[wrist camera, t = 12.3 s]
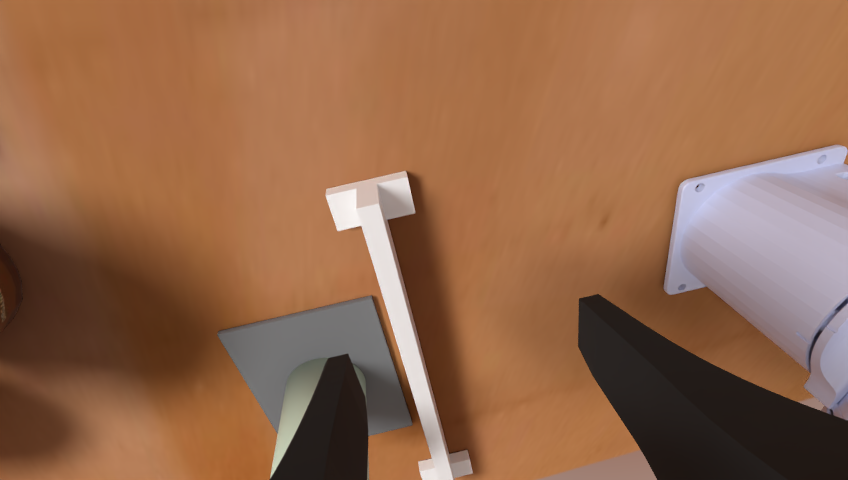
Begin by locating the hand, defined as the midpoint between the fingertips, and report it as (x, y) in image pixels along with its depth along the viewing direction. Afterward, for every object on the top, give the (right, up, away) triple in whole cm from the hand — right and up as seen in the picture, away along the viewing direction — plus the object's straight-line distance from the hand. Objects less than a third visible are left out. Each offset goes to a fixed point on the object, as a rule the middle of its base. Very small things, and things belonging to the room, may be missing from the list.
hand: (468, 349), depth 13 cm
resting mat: (-8, -6, +14) cm, 17 cm away
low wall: (-2, -5, +15) cm, 15 cm away
